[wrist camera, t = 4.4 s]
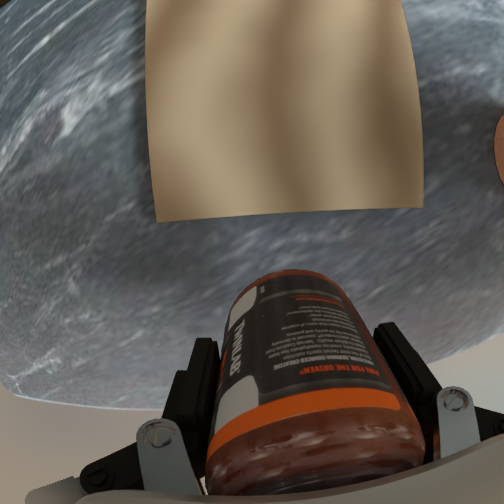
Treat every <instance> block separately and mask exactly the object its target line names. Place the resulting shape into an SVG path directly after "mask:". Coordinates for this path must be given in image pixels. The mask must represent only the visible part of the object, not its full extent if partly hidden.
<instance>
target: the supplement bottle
mask: <svg viewBox="0 0 504 504" xmlns="http://www.w3.org/2000/svg"><path fill="white" fill-rule="evenodd" d="M221 353H222V354H221V359H220V367H219V375H218V381H217V387H216V396H215V401H214V405H213V415H212V420H211V427H210V435H209V440H208V450H207V460H206V467H205V484H206V485H205V487H206V489H207V493H208V495H217V496H261V495H279V494H291V493H301V492H310V491H317V490H324V489H331V488H336V487H342V486H347V485H352V484H357V483H362V482H366V481H370V480H375V479H379V478H382V477H386V476H390V475H393V474H397V473H400V472H404V471H407V470H410V469H413V468H416V467H419V466H422V464H423V461H424V455H425V441H424V437H423V434H422V430H421V427H420V424H419V422H418V420H417V419H416V417H415V415H414V413H413V411H412V409H411V407H410V405H409V402H408V400H407V398H406V397H405V395H404V393H403V391H402V390H401V388H400V386H399V384H398V382H397V380H396V378H395V377H394V375H393V373H392V371H391V369H390V368H389V366H388V364H387V362H386V360H385V358H384V356H383V355H382V353H381V351H380V350H379V348H378V346H377V344H376V343H375V341H374V339H373V337H372V336H371V334H370V332H369V330H368V329H367V327H366V326H365V324H364V322H363V321H362V319H361V317H360V315H359V314H358V312H357V311H356V309H355V307H354V306H353V304H352V302H351V301H350V299H349V298H348V297H347V295H346V294H345V293H344V291H343V290H342V289H341V288H340V287H339V286H338V285H337V284H336V283H335V282H333V281H332V280H331V279H329V278H328V277H326V276H324V275H322V274H319V273H316V272H312V271H308V270H297V269H291V270H282V271H277V272H274V273H270V274H267V275H265V276H263V277H261V278H259V279H257V280H256V281H255V282H253V283H251V284H250V285H249V286H247V287H246V288H245V289H244V290H243V291H242V292H241V293H240V294H239V296H238V297H237V299H236V300H235V301H234V303H233V305H232V307H231V309H230V312H229V315H228V320H227V323H226V327H225V332H224V340H223V345H222V350H221Z"/></svg>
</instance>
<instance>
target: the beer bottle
mask: <svg viewBox="0 0 504 504" xmlns="http://www.w3.org/2000/svg"><path fill="white" fill-rule="evenodd" d="M8 1H10V0H0V7H1V6H3V5H4V4H6V3H7V2H8Z"/></svg>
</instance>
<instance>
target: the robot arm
mask: <svg viewBox="0 0 504 504" xmlns="http://www.w3.org/2000/svg"><path fill="white" fill-rule="evenodd" d="M373 339H374V341H375V343H376V344H377V346H378V348H379V350H380V351H381V353H382V355H383V356H384V358H385V360H386V362H387V364H388V366H389V368H390V369H391V371H392V373H393V375H394V377H395V378H396V380H397V382H398V384H399V386H400V388H401V390H402V391H403V393H404V395H405V397H406V398H407V400H408V402H409V405H410V407H411V409H412V411H413V413H414V415H415V417H416V419H417V420H418V422H419V424H420V427H421V430H422V434H423V437H424V441H425V455H424V461H423V464H422V466H419V467H416V468H413V469H410V470H407V471H404V472H400V473H397V474H393V475H390V476H386V477H382V478H379V479H375V480H370V481H366V482H362V483H357V484H352V485H347V486H342V487H336V488H331V489H324V490H317V491H310V492H301V493H291V494H279V495H261V496H217V495H206V493H205V490H204V488H203V485H202V482H201V480H200V478H202V477H204V476H205V467H206V460H207V450H208V440H209V435H210V427H211V420H212V415H213V405H214V401H215V396H216V387H217V381H218V375H219V367H220V357H219V350H218V344H217V341H212V339H211V338H196V341H195V344H194V348H193V351H192V355H191V358H190V361H189V365H188V368H187V371H186V370H178V371H177V372H176V374H175V377H174V380H173V384H172V387H171V390H170V393H169V396H168V399H167V402H166V405H165V408H164V412H163V415H162V418H160V419H153V420H150V421H147V422H146V423H144V424H143V425H142V426H141V427H140V428H139V429H138V431H137V434H136V440H137V442H135V443H133V444H131V445H129V446H127V447H125V448H123V449H121V450H119V451H117V452H115V453H112V454H110V455H108V456H106V457H104V458H102V459H100V460H97V461H95V462H93V463H90V464H89V465H87V466H86V467H85V468H84V469H83V470H82V471H81V474H80V477H77V478H74V477H73V476H71V477H69V478H66V479H63V480H60V481H58V482H55V483H52V484H49V485H47V486H43V487H40V488H38V489H34V490H32V491H30V492H29V493H28V494H27V496H26V498H25V504H504V414H501V413H497V412H493V411H490V410H487V409H483V408H479V407H476V406H474V404H473V400H472V397H471V395H470V394H469V393H468V392H467V391H466V390H464V389H462V388H459V387H454V386H452V387H446V388H444V389H442V387H441V386H440V384H439V383H438V381H437V380H436V378H435V377H434V375H433V374H432V373H431V371H430V370H429V368H428V367H427V365H426V364H425V363H424V361H423V360H422V358H421V357H420V356H419V354H418V353H417V352H416V351H415V350H414V349H413V348H412V346H411V345H410V343H409V342H408V341H407V339H406V338H405V337H404V335H403V334H402V333H401V331H400V330H399V329H398V327H397V326H396V325H395V323H394V322H388V323H381V324H379V326H378V328H375V330H374V335H373Z"/></svg>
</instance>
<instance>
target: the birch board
mask: <svg viewBox="0 0 504 504" xmlns="http://www.w3.org/2000/svg"><path fill="white" fill-rule="evenodd" d="M145 88H146V114H147V131H148V145H149V158H150V169H151V179H152V188H153V197H154V205H155V213H156V221H157V223H161V222H172V221H182V220H194V219H205V218H217V217H230V216H244V215H258V214H273V213H289V212H307V211H327V210H351V209H380V208H423V194H424V159H423V135H422V120H421V109H420V99H419V91H418V83H417V76H416V69H415V63H414V57H413V52H412V47H411V42H410V37H409V32H408V28H407V24H406V20H405V16H404V12H403V8H402V4H401V1H400V0H147V6H146V30H145Z"/></svg>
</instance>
